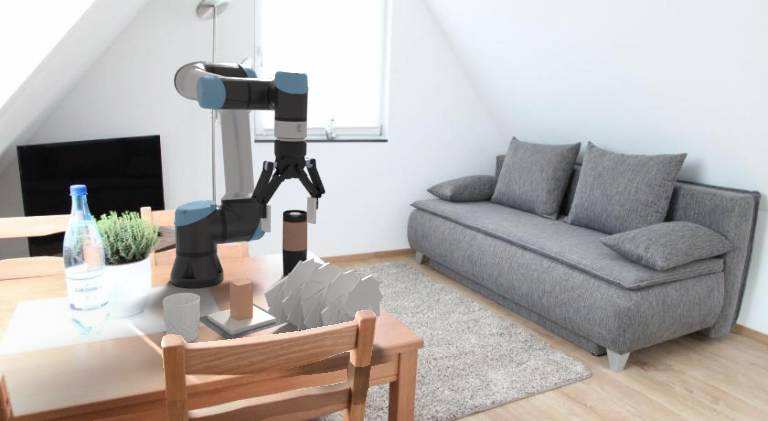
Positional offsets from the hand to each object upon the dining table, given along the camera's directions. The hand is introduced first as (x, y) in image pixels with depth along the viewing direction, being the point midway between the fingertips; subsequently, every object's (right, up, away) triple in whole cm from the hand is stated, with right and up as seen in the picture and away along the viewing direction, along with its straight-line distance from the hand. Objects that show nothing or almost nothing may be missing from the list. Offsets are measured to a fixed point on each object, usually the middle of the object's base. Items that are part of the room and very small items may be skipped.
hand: (289, 227), depth 135 cm
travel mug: (-5, -16, +41) cm, 44 cm away
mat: (-12, -24, +3) cm, 27 cm away
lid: (-12, -23, +3) cm, 26 cm away
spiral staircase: (+9, -26, -2) cm, 28 cm away
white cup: (-23, -26, -8) cm, 36 cm away
